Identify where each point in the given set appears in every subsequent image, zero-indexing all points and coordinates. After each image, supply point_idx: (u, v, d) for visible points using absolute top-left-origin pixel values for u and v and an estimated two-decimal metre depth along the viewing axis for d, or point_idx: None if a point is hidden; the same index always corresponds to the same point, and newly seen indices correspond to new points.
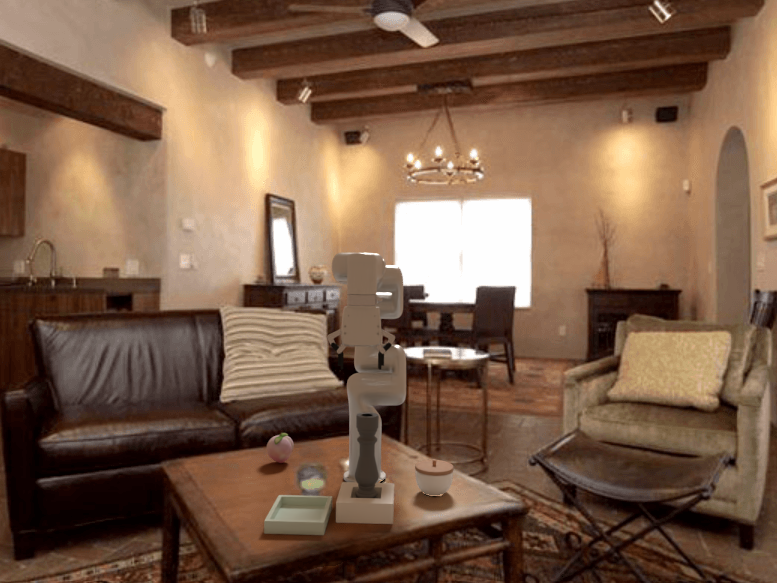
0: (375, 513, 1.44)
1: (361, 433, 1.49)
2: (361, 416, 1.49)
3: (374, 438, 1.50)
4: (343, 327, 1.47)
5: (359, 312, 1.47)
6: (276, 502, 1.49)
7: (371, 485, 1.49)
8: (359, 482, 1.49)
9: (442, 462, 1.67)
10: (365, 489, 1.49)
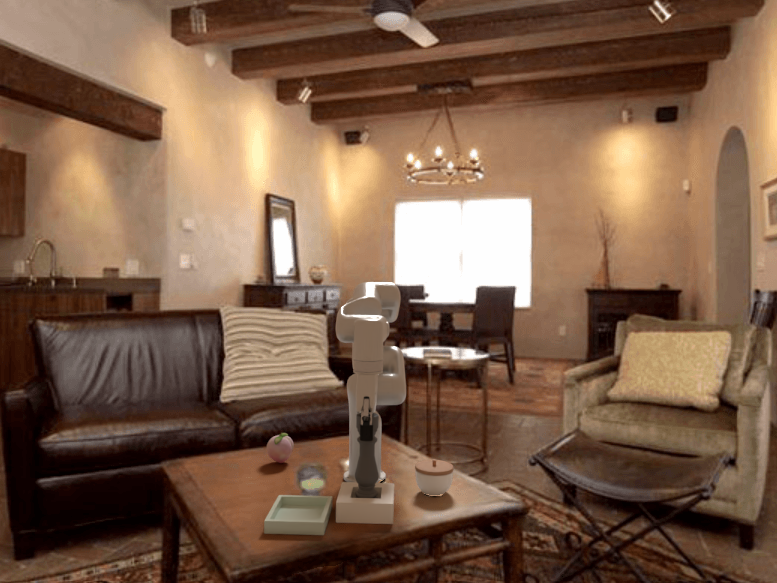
0: (375, 513, 1.44)
1: None
2: None
3: (374, 438, 1.49)
4: (374, 395, 1.46)
5: (377, 377, 1.49)
6: (276, 502, 1.49)
7: (371, 485, 1.49)
8: (359, 482, 1.49)
9: (442, 462, 1.67)
10: (365, 489, 1.49)
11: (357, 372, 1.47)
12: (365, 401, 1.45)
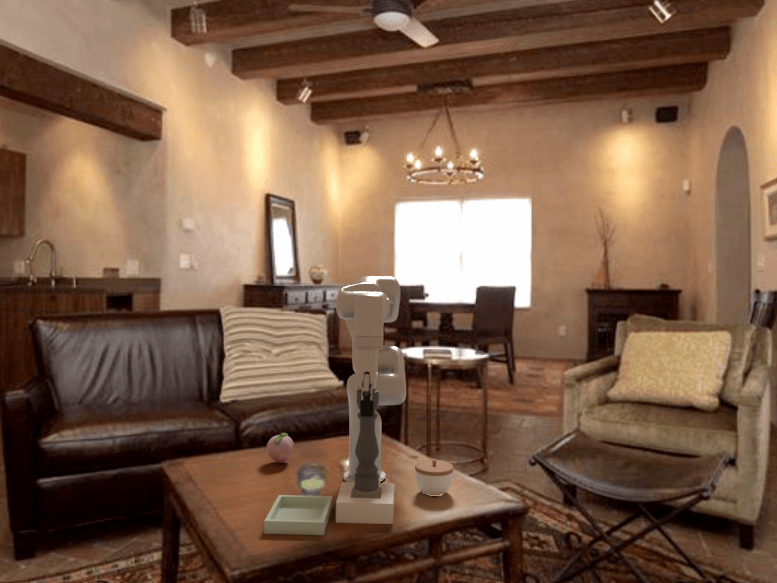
0: (375, 513, 1.44)
1: None
2: None
3: (374, 414, 1.50)
4: (374, 370, 1.45)
5: None
6: (276, 502, 1.49)
7: (371, 461, 1.49)
8: (359, 458, 1.49)
9: (442, 462, 1.67)
10: (365, 465, 1.49)
11: (357, 347, 1.47)
12: (365, 376, 1.45)
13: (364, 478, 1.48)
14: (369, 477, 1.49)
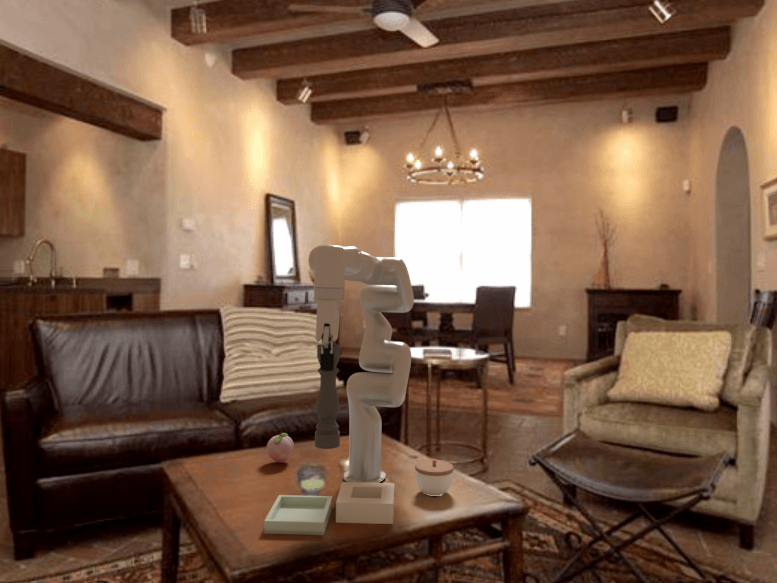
0: (375, 513, 1.44)
1: None
2: None
3: (335, 369, 1.45)
4: (335, 322, 1.42)
5: (339, 305, 1.45)
6: (276, 502, 1.49)
7: (332, 417, 1.45)
8: (320, 414, 1.44)
9: (442, 462, 1.67)
10: (326, 421, 1.45)
11: (317, 299, 1.43)
12: (325, 328, 1.41)
13: (324, 434, 1.44)
14: (329, 433, 1.44)
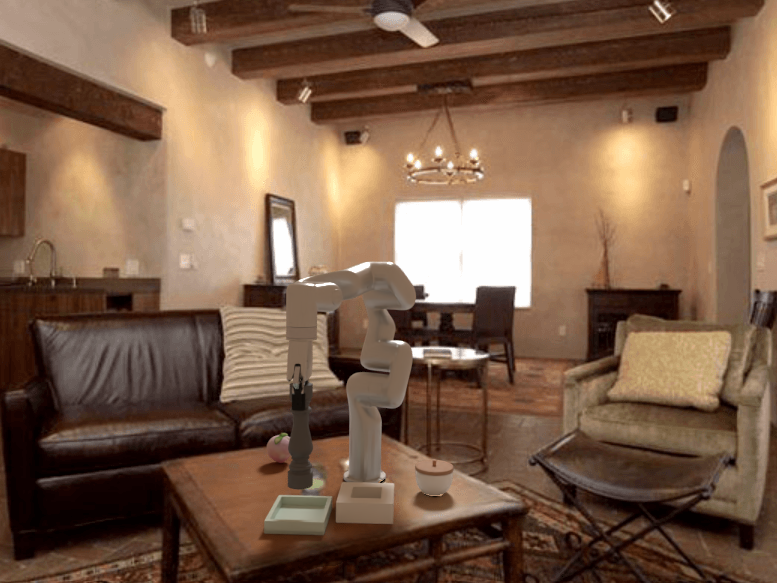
0: (375, 513, 1.44)
1: None
2: None
3: (308, 408, 1.44)
4: (306, 362, 1.40)
5: (311, 344, 1.43)
6: (276, 502, 1.49)
7: (304, 457, 1.43)
8: (292, 454, 1.43)
9: (442, 462, 1.67)
10: (298, 461, 1.43)
11: (289, 339, 1.41)
12: (296, 368, 1.39)
13: (296, 475, 1.42)
14: (301, 474, 1.43)
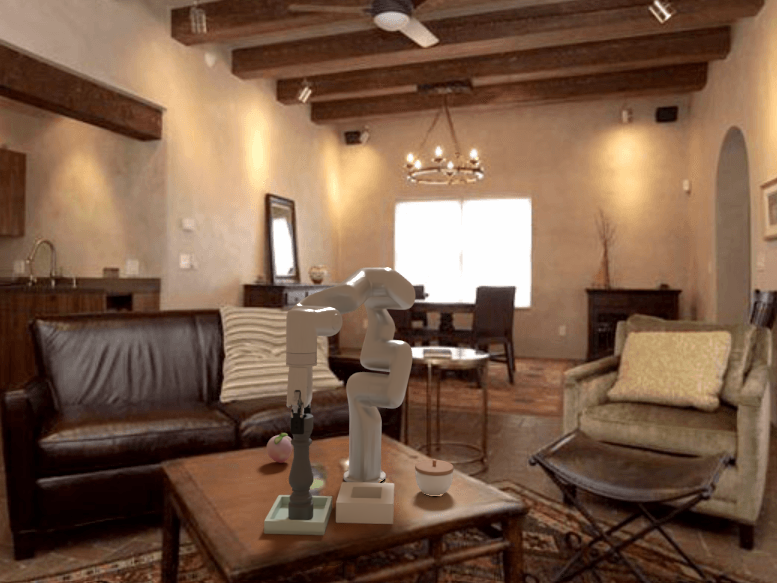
0: (375, 513, 1.44)
1: (294, 435, 1.43)
2: None
3: (308, 440, 1.44)
4: (306, 389, 1.40)
5: (311, 370, 1.44)
6: (276, 502, 1.49)
7: (305, 489, 1.44)
8: (292, 486, 1.43)
9: (442, 462, 1.67)
10: (299, 493, 1.44)
11: (289, 365, 1.42)
12: None
13: (297, 507, 1.43)
14: (302, 506, 1.43)
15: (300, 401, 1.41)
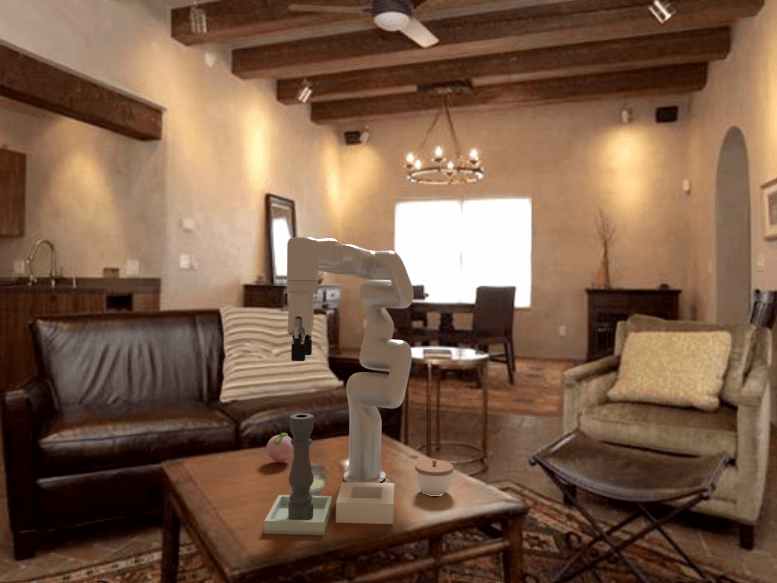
0: (375, 513, 1.44)
1: (294, 435, 1.43)
2: (294, 417, 1.43)
3: (308, 440, 1.44)
4: (307, 315, 1.39)
5: (312, 298, 1.43)
6: (276, 502, 1.49)
7: (305, 489, 1.44)
8: (292, 486, 1.43)
9: (442, 462, 1.67)
10: (299, 493, 1.44)
11: (290, 292, 1.41)
12: None
13: (297, 507, 1.43)
14: (302, 506, 1.43)
15: (301, 329, 1.41)
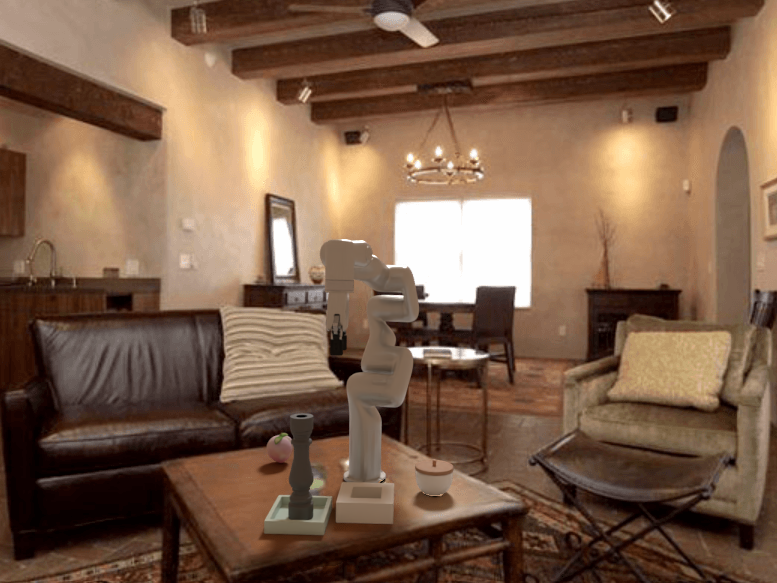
0: (375, 513, 1.44)
1: (294, 435, 1.43)
2: (294, 417, 1.43)
3: (308, 440, 1.44)
4: (344, 313, 1.49)
5: (348, 297, 1.53)
6: (276, 502, 1.49)
7: (305, 489, 1.44)
8: (292, 486, 1.43)
9: (442, 462, 1.67)
10: (299, 493, 1.44)
11: (328, 291, 1.51)
12: None
13: (297, 507, 1.43)
14: (302, 506, 1.43)
15: (339, 325, 1.50)
